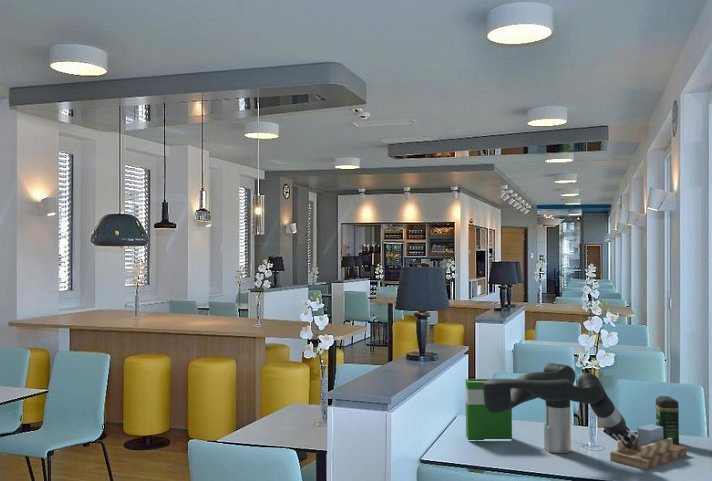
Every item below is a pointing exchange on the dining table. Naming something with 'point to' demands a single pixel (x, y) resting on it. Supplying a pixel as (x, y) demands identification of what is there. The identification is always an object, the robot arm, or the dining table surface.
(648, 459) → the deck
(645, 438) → the block
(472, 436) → the hardback book
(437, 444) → the dining table surface
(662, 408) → the coffee jar
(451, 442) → the dining table surface
